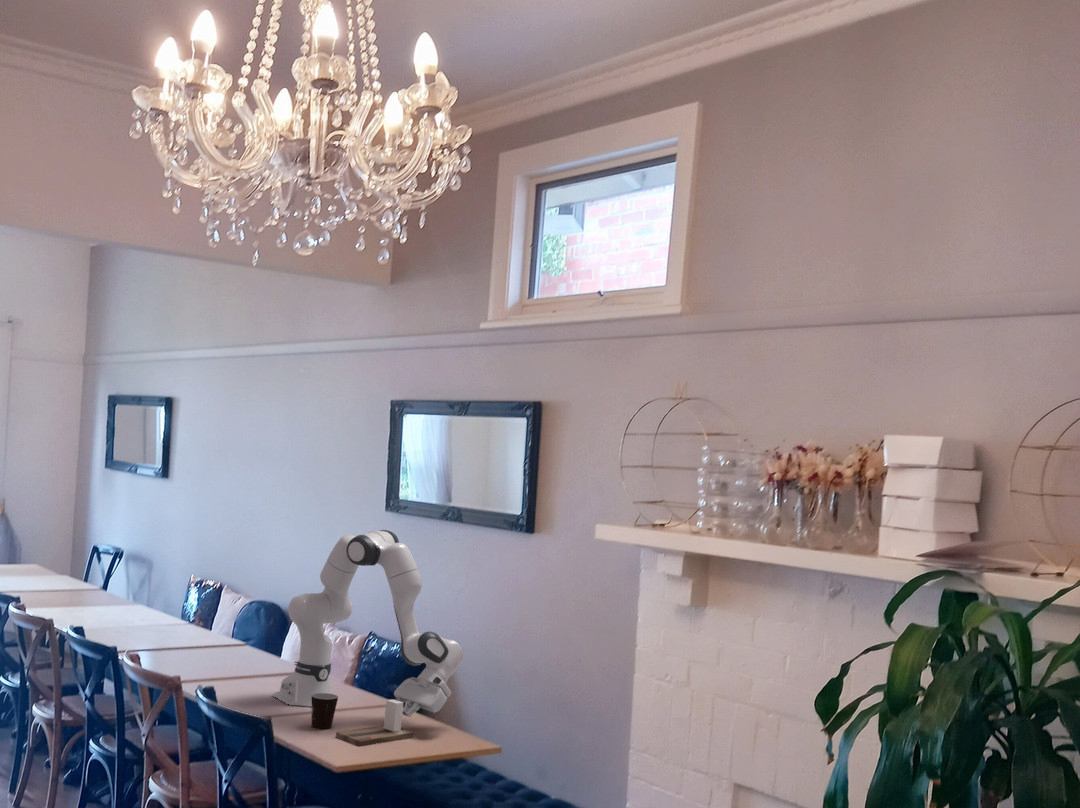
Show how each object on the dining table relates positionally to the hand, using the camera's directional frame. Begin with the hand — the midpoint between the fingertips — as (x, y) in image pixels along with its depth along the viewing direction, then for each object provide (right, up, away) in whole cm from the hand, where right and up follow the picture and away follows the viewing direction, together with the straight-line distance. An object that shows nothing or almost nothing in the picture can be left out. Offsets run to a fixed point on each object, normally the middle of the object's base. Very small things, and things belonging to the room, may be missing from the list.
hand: (405, 714), depth 334 cm
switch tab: (-4, -3, -4) cm, 7 cm away
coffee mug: (-27, -3, -5) cm, 28 cm away
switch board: (-9, -4, -10) cm, 14 cm away
